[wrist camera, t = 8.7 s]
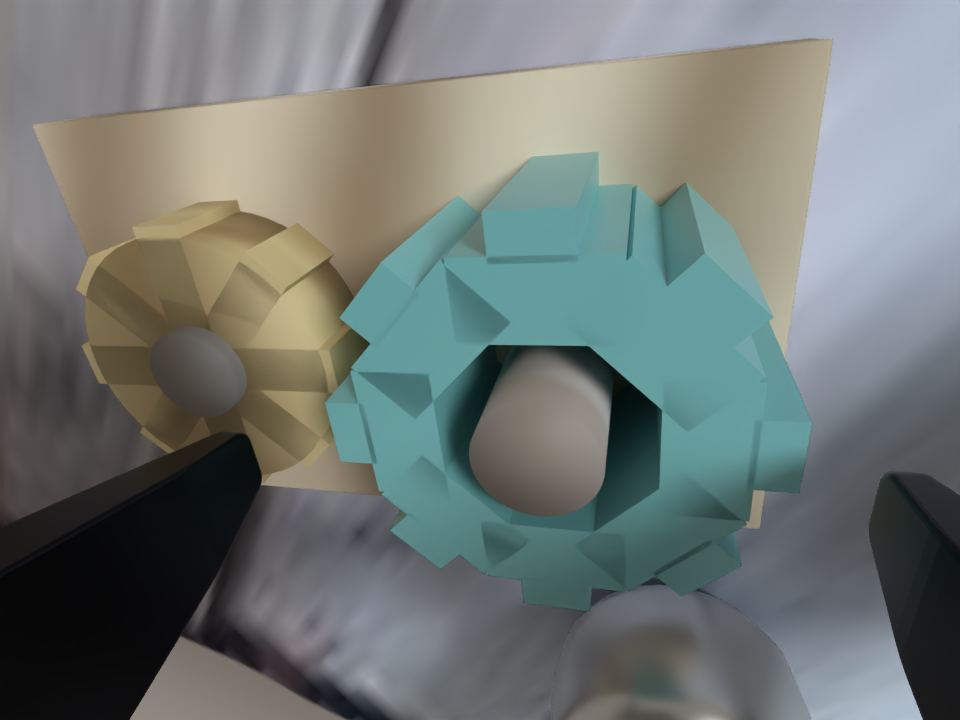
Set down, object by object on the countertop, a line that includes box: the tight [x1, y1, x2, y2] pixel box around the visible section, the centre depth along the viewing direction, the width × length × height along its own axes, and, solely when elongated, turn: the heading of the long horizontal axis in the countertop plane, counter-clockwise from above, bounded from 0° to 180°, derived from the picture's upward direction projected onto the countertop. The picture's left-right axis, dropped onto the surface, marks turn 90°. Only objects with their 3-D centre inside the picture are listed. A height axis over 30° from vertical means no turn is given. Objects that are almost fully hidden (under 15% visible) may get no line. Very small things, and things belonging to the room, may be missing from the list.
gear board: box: [33, 39, 833, 529], centre depth 12 cm, size 16×10×6 cm, turn 96°
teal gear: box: [325, 152, 812, 611], centre depth 11 cm, size 7×7×4 cm
